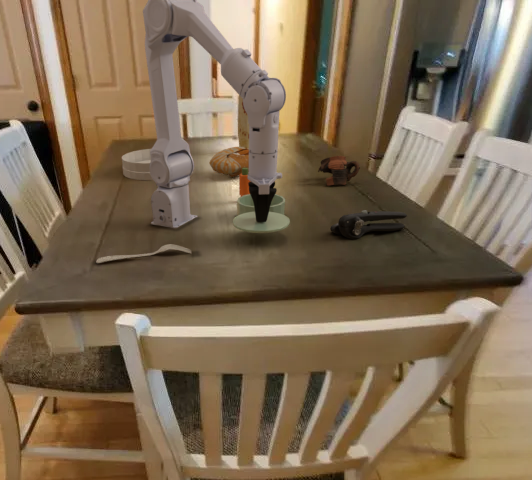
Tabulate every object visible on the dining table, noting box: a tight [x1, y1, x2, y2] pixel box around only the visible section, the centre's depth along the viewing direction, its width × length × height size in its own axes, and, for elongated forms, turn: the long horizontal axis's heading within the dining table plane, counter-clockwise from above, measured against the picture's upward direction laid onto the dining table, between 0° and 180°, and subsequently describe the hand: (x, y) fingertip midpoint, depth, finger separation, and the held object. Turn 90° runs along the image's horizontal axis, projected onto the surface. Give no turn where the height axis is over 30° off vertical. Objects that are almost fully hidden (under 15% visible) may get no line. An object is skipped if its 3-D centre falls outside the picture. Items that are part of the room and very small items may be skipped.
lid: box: [232, 212, 291, 234], centre depth 100 cm, size 12×12×4 cm
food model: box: [237, 94, 249, 148], centre depth 167 cm, size 10×7×20 cm
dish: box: [121, 148, 154, 181], centre depth 155 cm, size 22×22×5 cm
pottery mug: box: [317, 155, 361, 187], centre depth 137 cm, size 12×10×8 cm
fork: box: [96, 243, 192, 264], centre depth 98 cm, size 3×21×3 cm, turn 98°
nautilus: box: [208, 146, 249, 178], centre depth 146 cm, size 8×22×15 cm
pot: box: [236, 193, 286, 216], centre depth 114 cm, size 12×12×4 cm
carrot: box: [238, 168, 251, 197], centre depth 122 cm, size 3×3×9 cm
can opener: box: [329, 209, 408, 240], centre depth 102 cm, size 18×7×6 cm, turn 106°
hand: (261, 219), depth 101 cm, fingers closed on lid, 2 cm apart
